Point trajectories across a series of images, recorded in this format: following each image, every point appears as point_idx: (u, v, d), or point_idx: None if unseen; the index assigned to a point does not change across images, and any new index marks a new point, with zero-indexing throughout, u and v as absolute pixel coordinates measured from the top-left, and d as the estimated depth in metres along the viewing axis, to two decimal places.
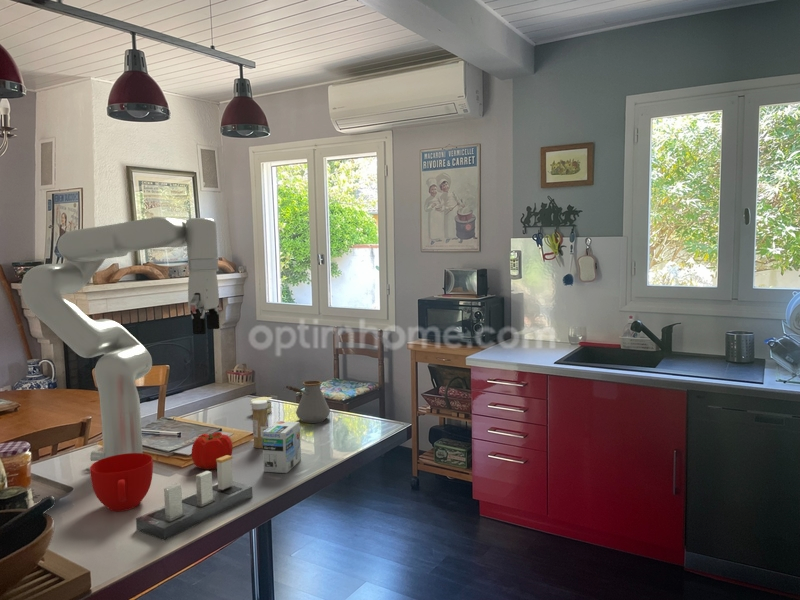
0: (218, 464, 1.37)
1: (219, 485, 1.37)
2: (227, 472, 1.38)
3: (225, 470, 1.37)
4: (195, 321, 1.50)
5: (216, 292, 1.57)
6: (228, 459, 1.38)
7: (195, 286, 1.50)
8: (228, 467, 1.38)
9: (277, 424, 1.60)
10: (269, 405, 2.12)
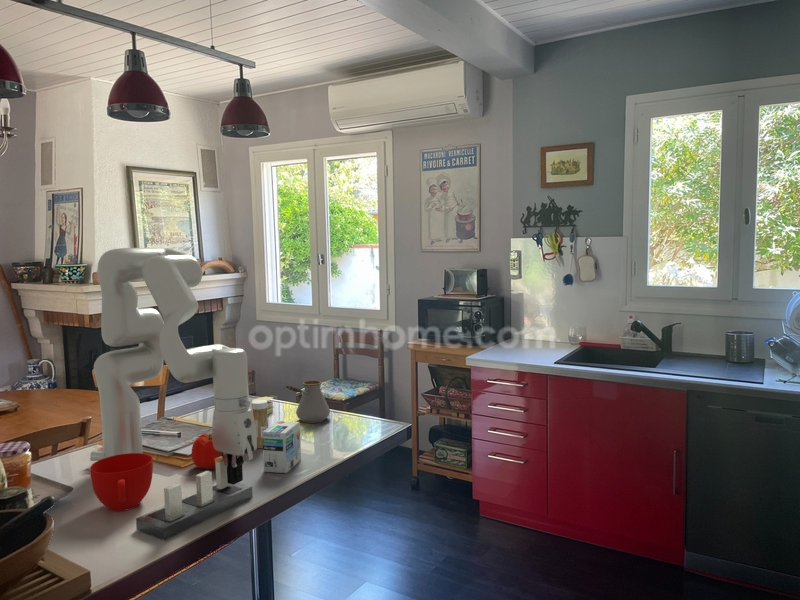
0: (216, 464, 1.37)
1: (217, 485, 1.37)
2: (225, 472, 1.38)
3: (223, 470, 1.37)
4: None
5: (230, 437, 1.32)
6: None
7: None
8: (226, 467, 1.38)
9: (277, 424, 1.60)
10: (271, 405, 2.12)
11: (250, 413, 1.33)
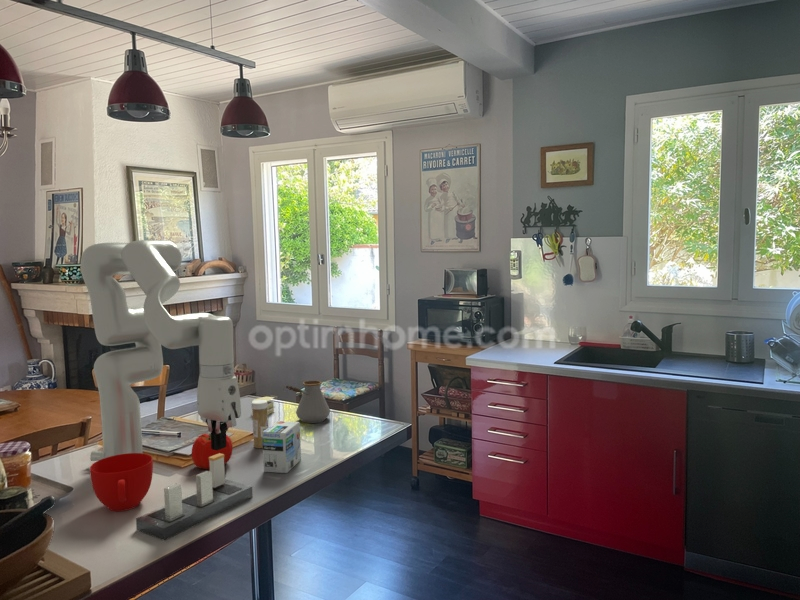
0: (210, 462, 1.38)
1: None
2: (219, 470, 1.39)
3: (217, 468, 1.38)
4: None
5: (214, 403, 1.34)
6: (221, 457, 1.39)
7: None
8: (220, 465, 1.39)
9: (277, 424, 1.60)
10: (271, 405, 2.12)
11: (234, 380, 1.35)
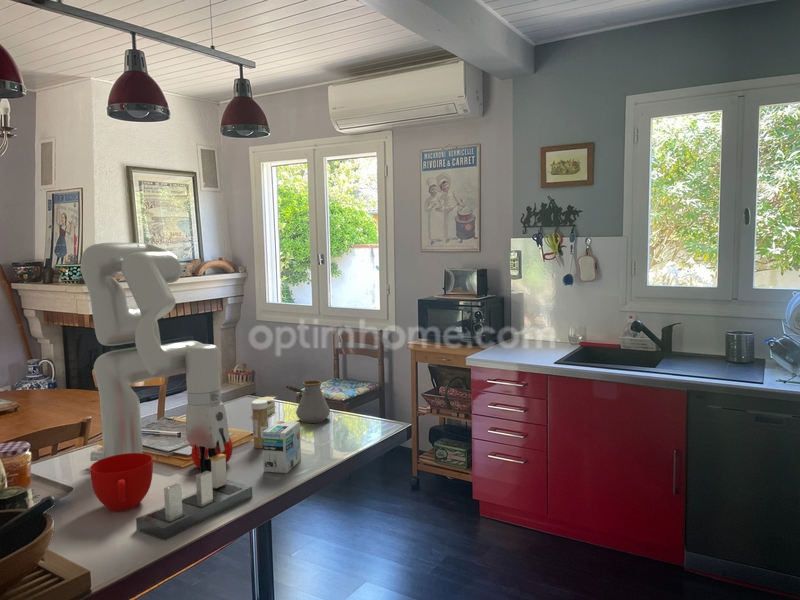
0: (212, 463, 1.38)
1: (213, 483, 1.38)
2: (221, 470, 1.39)
3: (219, 468, 1.38)
4: None
5: (202, 430, 1.37)
6: (222, 457, 1.39)
7: None
8: (222, 466, 1.39)
9: (277, 424, 1.60)
10: (272, 405, 2.12)
11: (222, 407, 1.38)
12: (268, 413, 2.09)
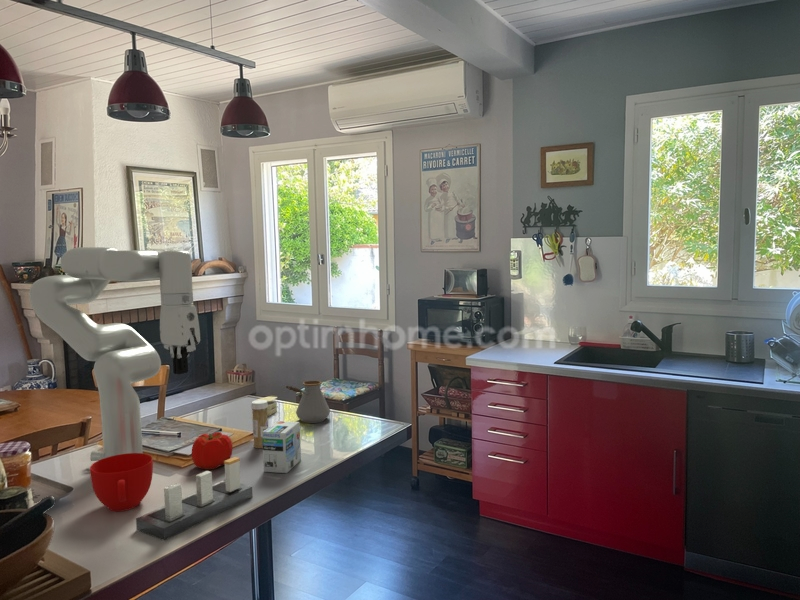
0: (226, 466, 1.35)
1: (227, 487, 1.36)
2: (235, 474, 1.36)
3: (233, 472, 1.36)
4: None
5: (174, 329, 1.46)
6: (236, 461, 1.36)
7: None
8: (236, 469, 1.36)
9: (277, 424, 1.60)
10: (274, 405, 2.12)
11: (193, 308, 1.47)
12: (270, 413, 2.09)
